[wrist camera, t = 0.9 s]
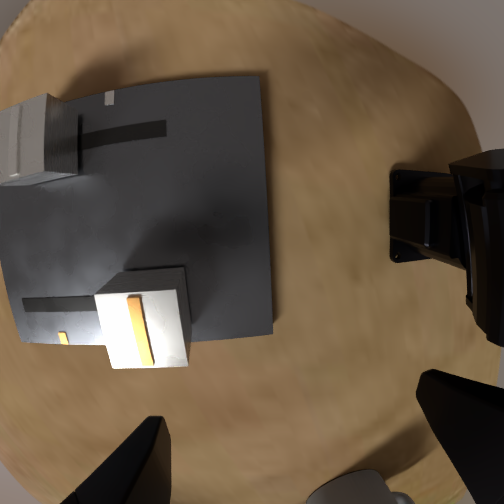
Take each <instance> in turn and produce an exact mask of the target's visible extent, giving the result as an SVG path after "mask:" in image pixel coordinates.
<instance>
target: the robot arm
mask: <svg viewBox="0 0 504 504" xmlns="http://www.w3.org/2000/svg"><path fill="white" fill-rule="evenodd" d="M449 168H450V173H451V174H447V173H437V172H425V171H412V170H392V171H391V173H390V259H391V261H393V262H395V263H402V262H409V261H417V260H424V259H432V258H433V259H436V260H438V261H441V262H444V263H447V264H450V265H452V266H455V267H458V268H460V269H463V270H466V275H467V295H466V305H467V306H468V307H469V308H470V309H471V311H472V312H473V316H474V319H475V322H476V324H477V325H478V326H479V327H480V328H481V329H482V330H483V332H484V333H486V338H487V340H488V341H490V342H492V343H494V344H496V345H498V346H500V347H504V149H495V150H489V151H485V152H482V153H479V154H476V155H473V156H470V157H467V158H464V159H461V160H458V161H455V162H453V163H450V164H449ZM396 174H397V175H398V179H396V177H395V176H396ZM452 174H453V175H452ZM397 253H398V256H397V258H395V256H396V254H397ZM416 398H417V400H418V402H419V404H420V406H421V408H422V410H423V412H424V414H425V416H426V418H427V421H428V423H429V425H430V427H431V429H432V431H433V432H434V434H435V436H436V438H437V439H438V441H439V442H440V444H441V445H442V447H443V449H444V450H445V452H446V454H447V455H448V457H449V458H450V460H451V462H452V463H453V465H454V467H455V468H456V470H457V472H458V473H459V475H460V477H461V478H462V480H463V482H464V484H465V485H466V487H467V489H468V490H469V492H470V494H471V495H472V497H473V499H474V501H475V503H476V504H504V389H503V388H499V387H495V386H492V385H488V384H484V383H480V382H477V381H473V380H470V379H466V378H463V377H459V376H456V375H452V374H449V373H446V372H442V371H439V370H436V369H430V370H427V371H425V372H423V373H422V374H421V376H420V379H419V383H418V386H417V390H416ZM170 497H171V438H170V434H169V431H168V428H167V425H166V422H165V419H164V417H162V416H148V417H147V418H146V419H145V420H144V421H143V422H142V423H141V424H140V425H139V426H138V427H137V428H136V429H135V430H134V431H133V432H132V433H131V434H130V435H129V436H128V437H127V439H126V440H125V441H124V442H123V443H122V444H121V445H120V446H119V447H118V448H117V449H116V450H115V451H114V452H113V453H112V454H111V455H110V456H109V457H108V458H107V459H106V460H105V461H104V462H103V463H102V464H101V465H100V466H99V467H98V468H97V469H96V470H95V471H94V472H93V473H92V474H91V475H90V476H89V477H88V478H87V479H86V480H85V481H84V482H82V483H81V484H80V485H79V486H78V487H77V488H76V489H75V492H74V491H73V492H72V493H71V494H70V495H69V496H68V497H67V498H66V499H65V500H63V501H62V502H61V503H60V504H170Z"/></svg>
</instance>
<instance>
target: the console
mask: <svg viewBox="0 0 504 504" xmlns="http://www.w3.org/2000/svg"><path fill="white" fill-rule="evenodd" d="M64 103H66V104H68V105H69V106H71V107H73V108H75V109H76V110H78V134H77V155H78V175H73V176H68V177H63V178H58V179H53V180H49V181H44V182H40V183H36V184H32V185H23V186H0V261H1V266H2V271H3V276H4V281H5V285H6V290H7V294H8V298H9V302H10V305H11V309H12V313H13V316H14V320H15V323H16V326H17V329H18V332H19V335H20V338H21V341H22V342H30V343H48V344H74V345H106V342H105V338H104V335H103V331H102V327H101V323H100V319H99V315H98V310H97V306H96V301H95V297H94V294H95V293H96V292H97V291H98V290H100V289H101V288H102V287H103V286H104V285H105V284H106V283H107V282H108V281H109V280H110V279H111V278H113V277H114V276H115V275H116V274H117V273H118V272H128V271H141V270H154V269H167V268H179V267H184V271H185V280H186V288H187V296H188V303H189V311H190V318H191V325H192V338H191V342H198V341H211V340H223V339H233V338H243V337H253V336H261V335H270V334H273V319H272V293H271V269H270V247H269V226H268V207H267V188H266V171H265V154H264V138H263V123H262V108H261V94H260V80H259V76H229V77H209V78H195V79H184V80H175V81H166V82H159V83H152V84H145V85H139V86H133V87H127V88H122V89H117V90H112V91H107V92H103V93H99V94H94V95H90V96H86V97H82V98H78V99H75V100H71V101H68V102H64Z"/></svg>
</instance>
